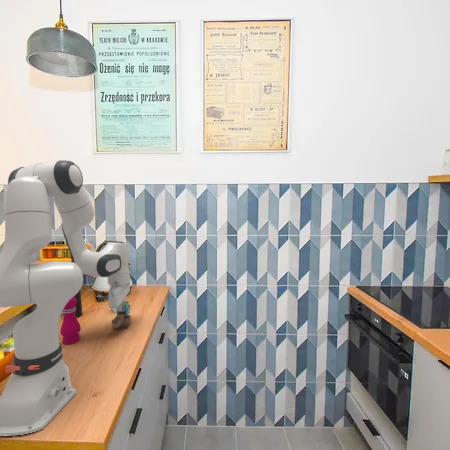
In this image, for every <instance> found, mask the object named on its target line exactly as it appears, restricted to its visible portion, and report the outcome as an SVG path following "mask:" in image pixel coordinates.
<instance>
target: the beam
mask: <svg viewBox="0 0 450 450" xmlns="http://www.w3.org/2000/svg"><path fill="white" fill-rule="evenodd" d="M125 302H129V300H125ZM129 303H130V302H129ZM129 306H130V307H131V304H129ZM131 324H132V317H131V314H129V315H128V316H126V312H120V313H119V314H118V315H117V314H116V315H115V318H114V319H112V320H111V328H112V329H113V330H129V328H130V326H131Z"/></svg>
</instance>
